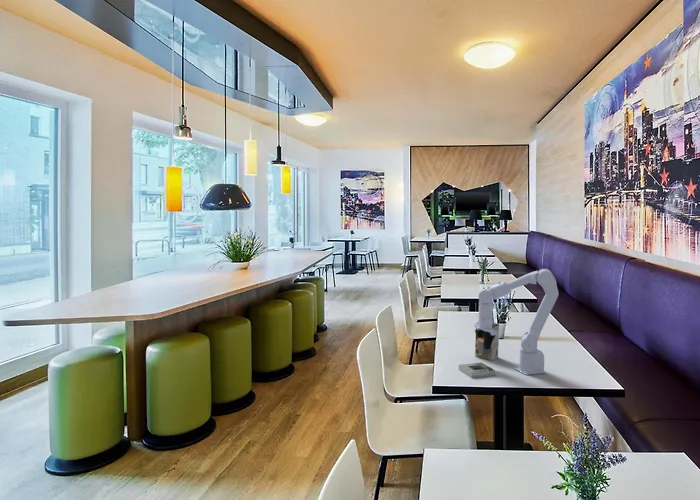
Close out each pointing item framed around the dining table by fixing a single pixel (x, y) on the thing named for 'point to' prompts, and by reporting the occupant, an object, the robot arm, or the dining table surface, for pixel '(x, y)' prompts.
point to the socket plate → (476, 370)
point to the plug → (482, 347)
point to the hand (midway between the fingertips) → (484, 347)
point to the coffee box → (494, 345)
